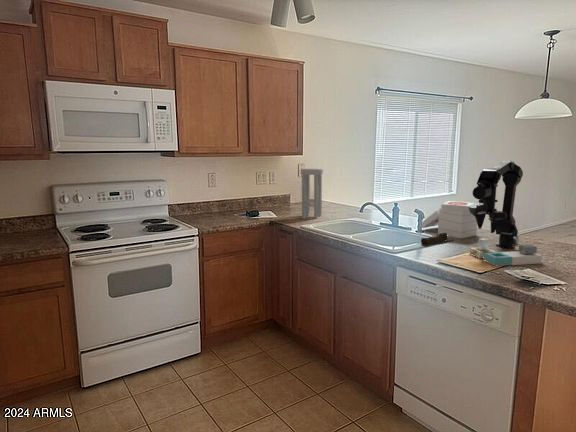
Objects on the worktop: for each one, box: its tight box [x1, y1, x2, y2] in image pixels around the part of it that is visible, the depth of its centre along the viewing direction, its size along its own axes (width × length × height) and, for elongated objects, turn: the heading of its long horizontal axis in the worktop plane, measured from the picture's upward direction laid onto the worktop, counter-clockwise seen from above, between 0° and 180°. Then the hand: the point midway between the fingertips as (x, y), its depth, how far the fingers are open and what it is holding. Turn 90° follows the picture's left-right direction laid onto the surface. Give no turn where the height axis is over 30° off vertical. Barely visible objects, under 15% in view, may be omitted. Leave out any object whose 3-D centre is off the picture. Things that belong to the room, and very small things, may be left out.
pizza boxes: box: [421, 200, 478, 239], centre depth 235 cm, size 19×30×18 cm, turn 33°
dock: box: [483, 250, 543, 266], centre depth 178 cm, size 8×22×4 cm, turn 98°
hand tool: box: [420, 233, 448, 246], centre depth 213 cm, size 19×4×5 cm, turn 119°
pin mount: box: [469, 246, 497, 259], centre depth 188 cm, size 8×8×3 cm
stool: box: [300, 167, 324, 219], centre depth 290 cm, size 16×16×35 cm
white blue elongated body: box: [513, 236, 518, 245], centre depth 219 cm, size 5×7×25 cm
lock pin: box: [477, 238, 489, 251], centre depth 188 cm, size 3×3×8 cm
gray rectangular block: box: [518, 244, 538, 255], centre depth 179 cm, size 4×6×7 cm
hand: (485, 230), depth 186 cm, fingers open, 9 cm apart
